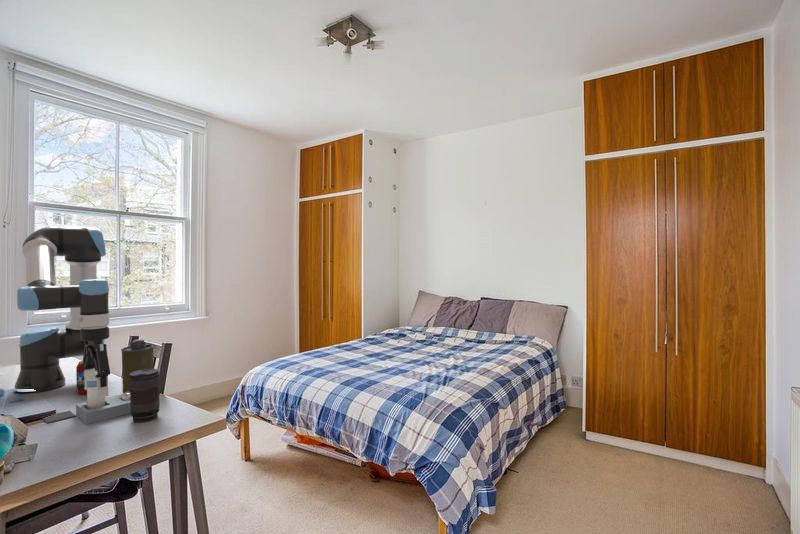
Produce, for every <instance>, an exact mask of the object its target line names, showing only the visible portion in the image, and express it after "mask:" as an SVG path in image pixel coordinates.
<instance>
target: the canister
mask: <svg viewBox="0 0 800 534" xmlns="http://www.w3.org/2000/svg"><path fill="white" fill-rule="evenodd" d="M129 344H130V346H125V347H122V348H121V349H120V351H121V371H122V372H121V375H122V378H121V379H122V394H123V393H125V392H130V389H129V377H130V373H132V372H134V371H138V370H143V369H154V348H155V347H154V345H153V344H152V343H146V342H145V340H144V339H135V340H133V341H129Z"/></svg>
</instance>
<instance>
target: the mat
mask: <svg viewBox="0 0 800 534" xmlns="http://www.w3.org/2000/svg"><path fill="white" fill-rule="evenodd" d="M50 415H51V416H48V415H47V416H48V417H45V418H42V420H43V421H44V422H45V423H46V424H51V423H56V422H59V421H63V420H67V419H73V418H75V417H77V415H76V414H75V413H73V412H72V411H71V410H67V411H63V412H58V413H54V414H50Z"/></svg>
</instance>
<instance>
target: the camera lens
mask: <svg viewBox="0 0 800 534" xmlns="http://www.w3.org/2000/svg"><path fill="white" fill-rule="evenodd" d="M129 389H130V410H131V413H130V416H131V417H132V421H133V422H135V423H146V422H150V421H153V420H156V419H157V418H158V416H159V414H158V413H159V412H160V402H161V401H160V395H161V391H160V372H159V369H158V368H153V369H143V370H138V371H134V372H132V373H130V377H129Z"/></svg>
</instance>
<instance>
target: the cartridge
mask: <svg viewBox="0 0 800 534" xmlns="http://www.w3.org/2000/svg"><path fill="white" fill-rule="evenodd" d="M96 375H98V374H97V372H92V373H90V376H88V377H87V394H86V395H87V396H86V397H87V399H86V402H87V409H88V410H89V409H94V408H98V407H102V406H105V398H106V397H102V398H97V378H95V376H96Z"/></svg>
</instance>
